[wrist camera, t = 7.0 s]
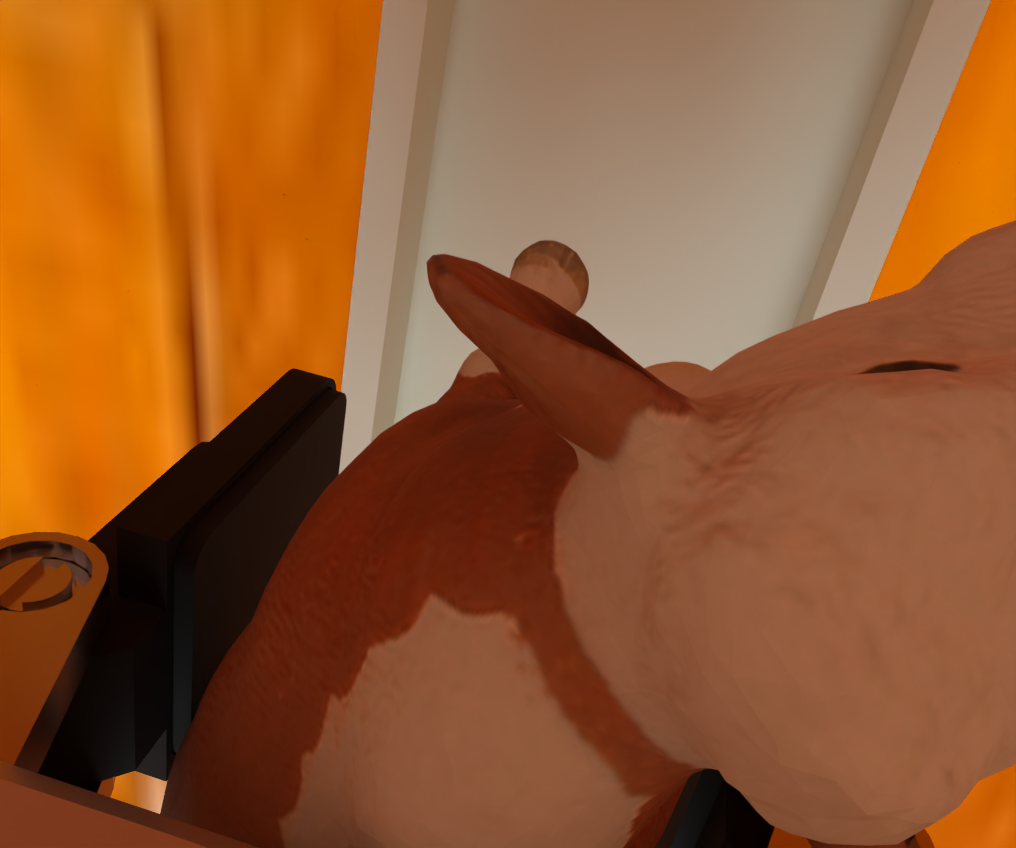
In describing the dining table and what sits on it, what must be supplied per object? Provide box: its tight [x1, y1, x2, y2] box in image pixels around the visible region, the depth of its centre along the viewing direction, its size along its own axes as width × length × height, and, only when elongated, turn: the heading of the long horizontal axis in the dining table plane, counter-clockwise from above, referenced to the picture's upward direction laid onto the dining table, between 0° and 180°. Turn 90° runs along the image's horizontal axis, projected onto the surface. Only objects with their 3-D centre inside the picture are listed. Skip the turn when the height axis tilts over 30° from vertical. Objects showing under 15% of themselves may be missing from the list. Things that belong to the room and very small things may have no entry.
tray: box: [339, 0, 991, 474], centre depth 19 cm, size 19×10×2 cm, turn 169°
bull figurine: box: [160, 221, 1016, 848], centre depth 9 cm, size 4×13×8 cm, turn 150°
